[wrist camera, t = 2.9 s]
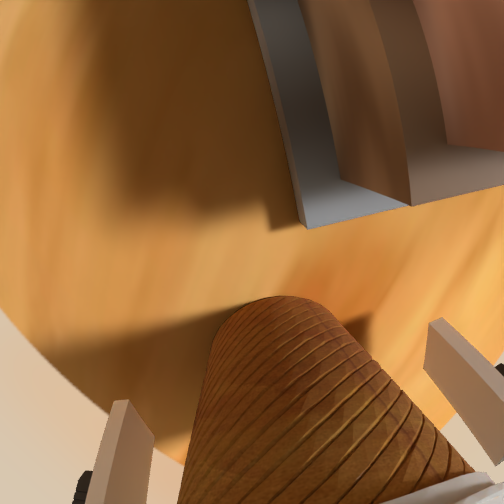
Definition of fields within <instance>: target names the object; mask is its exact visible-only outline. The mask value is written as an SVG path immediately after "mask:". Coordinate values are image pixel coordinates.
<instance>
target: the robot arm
mask: <svg viewBox="0 0 504 504" xmlns="http://www.w3.org/2000/svg"><path fill="white" fill-rule="evenodd" d="M423 369H424V370H425V371H426V373H427V374H428V375H429V376H430V378H431V379H432V380H433V381H434V383H435V384H436V385H437V387H438V388H439V389H440V390H441V392H442V393H443V394H444V396H445V397H446V398H447V400H448V401H449V402H450V404H451V405H452V406H453V408H454V409H455V410H456V412H457V413H458V414H459V416H460V417H461V418H462V419H463V421H464V422H465V424H466V425H467V426H468V428H469V429H470V430H471V432H472V433H473V435H474V436H475V437H476V439H477V440H478V442H479V443H480V444H481V446H482V447H483V449H484V450H485V452H486V453H487V455H488V456H489V457H490V459H491V460H492V462H493V463H494V465H495V466H497V465H498V464H500V463H501V462H502V461H504V364H502V363H501V364H499V365H497V366H496V367H494V366H493V365H492V364H491V363H490V362H489V361H488V360H487V359H486V358H485V357H484V356H483V355H482V354H481V353H480V352H478V351H477V350H476V349H475V348H474V347H473V346H472V345H471V344H470V343H469V342H468V341H467V340H466V339H465V338H464V337H463V336H462V335H461V334H460V333H459V332H458V331H457V330H455V329H454V328H453V327H452V326H451V325H450V324H449V323H448V322H447V321H446V320H445V319H444V318H439V319H437V320H435V321H432V322H430V323H429V326H428V336H427V345H426V353H425V360H424V367H423ZM154 440H155V436H154V435H153V433H152V432H151V431H150V429H149V428H148V427H147V425H146V424H145V422H144V421H143V419H142V418H141V417H140V415H139V414H138V412H137V411H136V409H135V408H134V406H133V405H132V403H131V402H130V400H129V399H126V400H116V401H114V402H113V405H112V408H111V412H110V415H109V418H108V421H107V424H106V428H105V431H104V434H103V438H102V441H101V445H100V448H99V451H98V455H97V459H96V462H95V466H94V469H93V471H85V472H84V473H83V474H82V476H81V477H80V479H79V480H78V484H77V487H76V492H75V495H74V501H73V502H72V504H146V499H147V491H148V483H149V475H150V468H151V461H152V453H153V447H154Z"/></svg>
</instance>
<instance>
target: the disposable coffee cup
mask: <svg viewBox="0 0 504 504" xmlns="http://www.w3.org/2000/svg"><path fill="white" fill-rule="evenodd" d="M177 504H504V482H502V483H499V484H495V483H494V482H493V481H492V479H491V478H490V477H489V475H488V474H487V473H486V472H475V470H474V469H473V468H472V467H470V465H469V464H468V463H467V462H466V461H465V460H464V459H463V458H462V457H461V455H460V454H459V453H458V452H457V451H456V450H455V449H454V447H453V446H452V445H451V444H450V443H449V442H448V441H447V439H446V438H445V437H444V436H443V435H442V434H441V433H440V431H439V430H438V429H437V428H436V427H434V424H433V423H432V422H431V421H430V420H429V419H428V418H427V417H426V416H425V415H424V414H422V411H421V410H420V409H419V408H418V407H417V406H416V405H415V404H414V403H413V402H412V401H411V399H410V398H409V397H408V396H407V395H406V394H405V392H404V391H403V390H400V387H399V386H398V385H397V384H396V383H395V382H394V381H393V380H392V379H391V377H390V376H389V375H388V374H387V373H386V372H385V371H384V370H383V369H381V367H380V365H379V364H378V362H376V361H375V360H372V356H371V355H370V354H369V353H368V352H366V351H364V348H363V347H362V346H361V345H360V344H359V343H357V341H356V339H355V338H354V337H353V336H352V335H350V333H349V332H348V331H347V330H346V329H345V328H344V327H343V326H342V324H341V323H340V322H339V321H337V319H336V318H335V317H334V316H333V315H332V313H331V312H330V311H329V310H327V309H326V308H325V307H323V306H322V305H320V304H318V303H316V302H314V301H311V300H309V299H304V298H299V297H294V296H279V297H272V298H266V299H263V300H259V301H256V302H253V303H251V304H249V305H247V306H245V307H243V308H241V309H239V310H238V311H237V312H235V313H234V314H233V315H232V316H230V317H229V318H228V319H227V320H226V321H225V322H224V323H223V324H222V325H221V326H220V328H219V330H218V331H217V333H216V335H215V337H214V339H213V342H212V346H211V350H210V355H209V359H208V364H207V368H206V373H205V377H204V381H203V386H202V390H201V395H200V399H199V403H198V408H197V412H196V417H195V421H194V426H193V431H192V435H191V440H190V444H189V448H188V453H187V458H186V462H185V467H184V472H183V477H182V482H181V488H180V492H179V497H178V501H177Z"/></svg>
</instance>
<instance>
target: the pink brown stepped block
mask: <svg viewBox="0 0 504 504" xmlns="http://www.w3.org/2000/svg"><path fill="white" fill-rule="evenodd" d="M247 2H248V6H249V9H250V12H251V16H252V19H253V23H254V26H255V30H256V34H257V37H258V41H259V45H260V48H261V52H262V56H263V60H264V63H265V67H266V71H267V75H268V79H269V83H270V87H271V91H272V95H273V99H274V104H275V108H276V112H277V116H278V121H279V125H280V129H281V134H282V138H283V143H284V147H285V152H286V156H287V161H288V166H289V170H290V175H291V180H292V185H293V190H294V195H295V200H296V205H297V210H298V216H299V221H300V222H301V223H302V224H303V225H304V226H305V227H306V228H307V230H308V229H312V228H317V227H321V226H325V225H329V224H333V223H337V222H341V221H345V220H350V219H354V218H358V217H362V216H366V215H370V214H375V213H379V212H383V211H387V210H391V209H395V208H400V207H404V206H408V205H409V206H416V205H420V204H424V203H428V202H433V201H437V200H441V199H445V198H449V197H454V196H458V195H462V194H466V193H471V192H475V191H479V190H483V189H488V188H492V187H496V186H500V185H504V0H247Z"/></svg>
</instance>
